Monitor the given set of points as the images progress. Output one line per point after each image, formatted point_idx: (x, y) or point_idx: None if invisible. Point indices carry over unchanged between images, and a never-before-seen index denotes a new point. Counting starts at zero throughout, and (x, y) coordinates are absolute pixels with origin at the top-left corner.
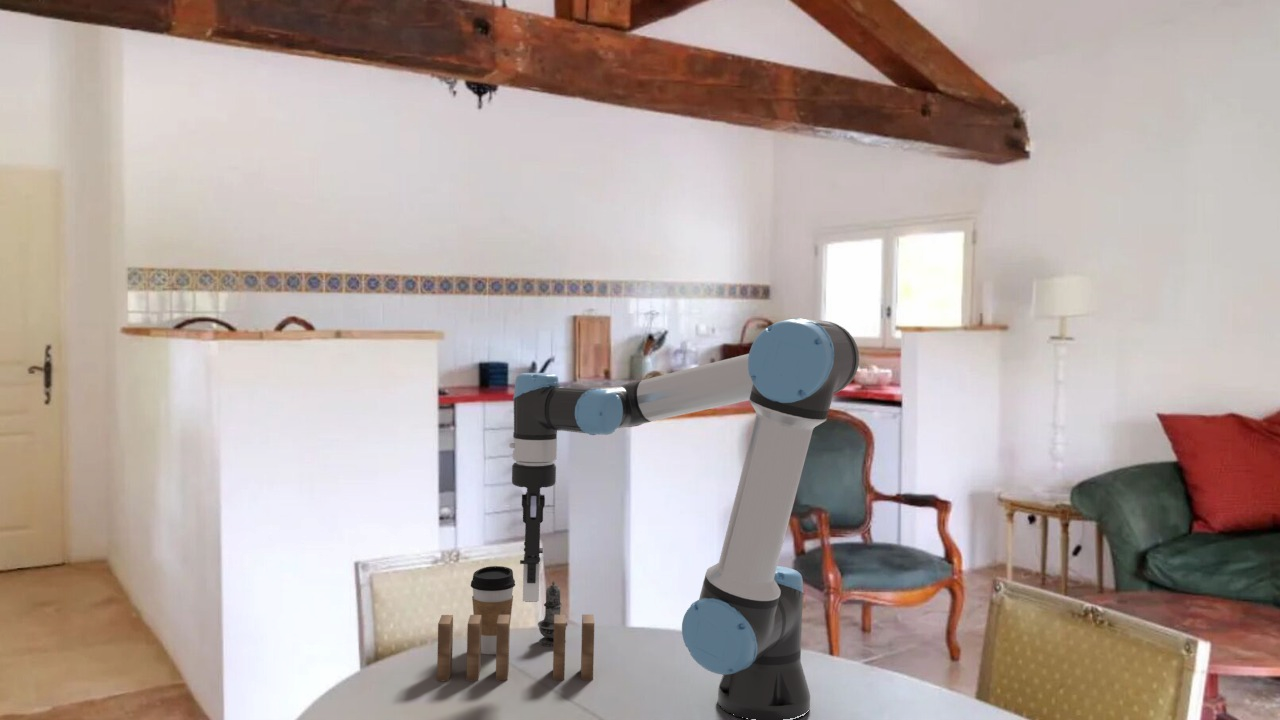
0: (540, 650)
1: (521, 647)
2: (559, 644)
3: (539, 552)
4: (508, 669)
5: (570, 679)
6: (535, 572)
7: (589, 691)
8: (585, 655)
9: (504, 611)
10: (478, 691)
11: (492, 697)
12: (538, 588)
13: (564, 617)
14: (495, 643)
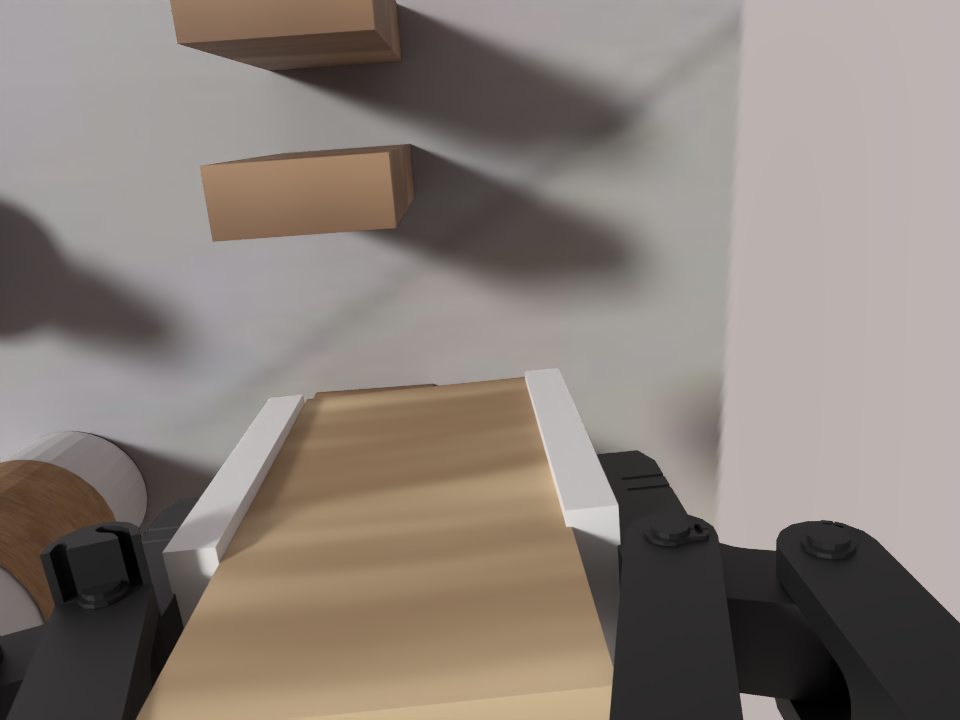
0: (47, 284)
1: (26, 373)
2: (402, 180)
3: (146, 563)
4: (346, 394)
5: (402, 115)
6: (678, 499)
7: (542, 16)
8: (391, 31)
9: (31, 532)
10: None
11: (610, 414)
12: (570, 405)
13: (263, 168)
14: (123, 491)
